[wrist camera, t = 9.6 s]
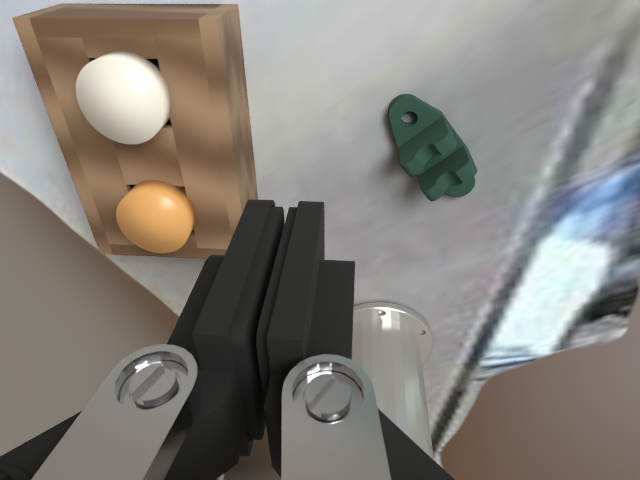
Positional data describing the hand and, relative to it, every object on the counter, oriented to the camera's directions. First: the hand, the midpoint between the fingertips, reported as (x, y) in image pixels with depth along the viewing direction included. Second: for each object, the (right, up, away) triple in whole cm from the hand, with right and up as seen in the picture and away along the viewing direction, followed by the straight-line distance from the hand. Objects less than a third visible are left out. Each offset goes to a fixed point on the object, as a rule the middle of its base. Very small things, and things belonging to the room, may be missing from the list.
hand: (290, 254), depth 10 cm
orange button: (-13, +5, +31) cm, 34 cm away
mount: (+11, +9, +29) cm, 32 cm away
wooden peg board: (-12, +10, +30) cm, 34 cm away
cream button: (-13, +13, +25) cm, 31 cm away
